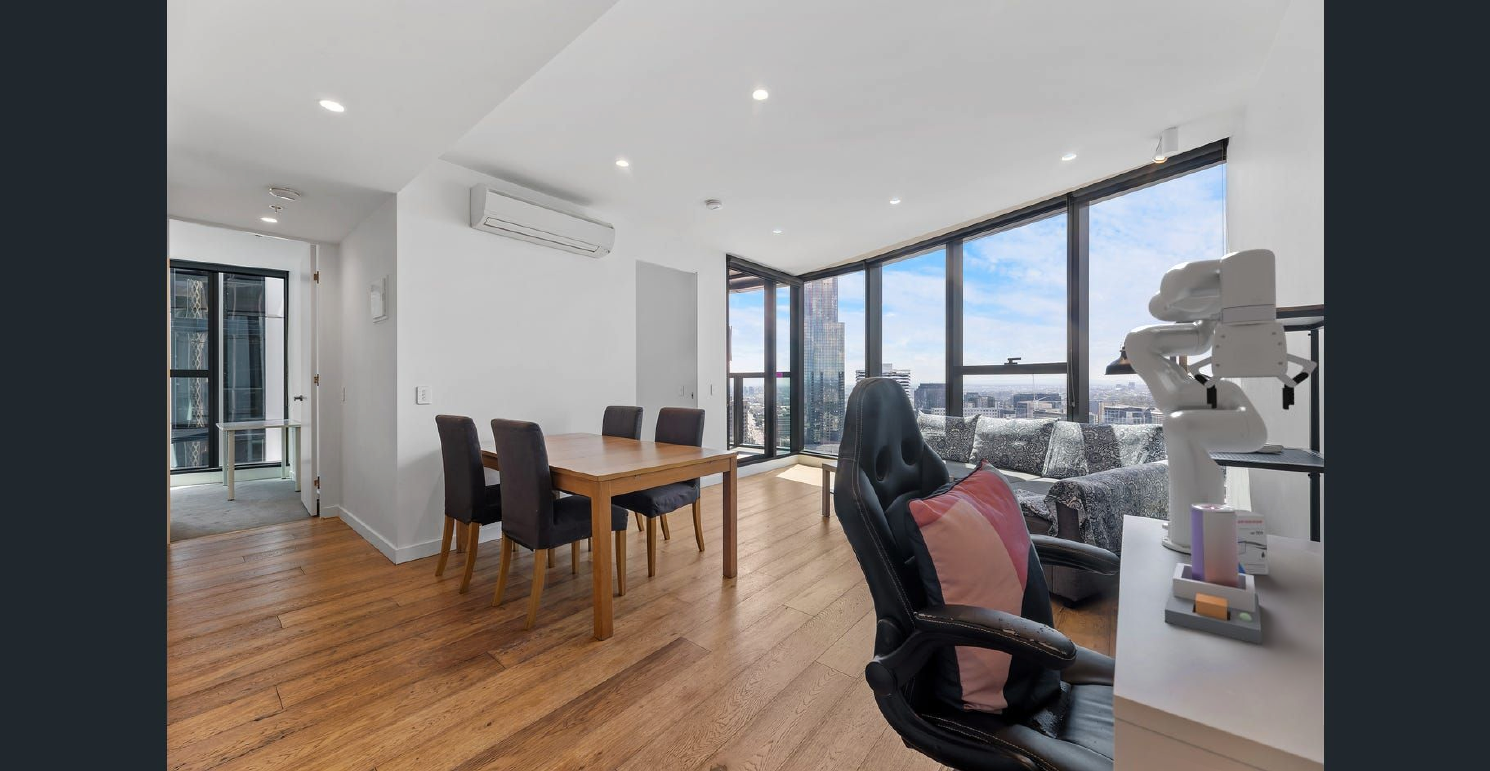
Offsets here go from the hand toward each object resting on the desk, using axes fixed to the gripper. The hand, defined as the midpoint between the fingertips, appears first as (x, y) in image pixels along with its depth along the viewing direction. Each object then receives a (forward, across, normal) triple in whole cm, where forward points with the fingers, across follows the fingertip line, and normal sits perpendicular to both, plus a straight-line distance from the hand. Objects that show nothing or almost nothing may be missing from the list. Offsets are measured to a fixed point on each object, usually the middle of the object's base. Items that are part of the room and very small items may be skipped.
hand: (1248, 408), depth 97 cm
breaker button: (+32, -5, -26) cm, 42 cm away
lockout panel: (+33, -5, -21) cm, 39 cm away
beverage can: (+31, -4, -17) cm, 36 cm away
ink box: (+33, -2, +7) cm, 34 cm away
